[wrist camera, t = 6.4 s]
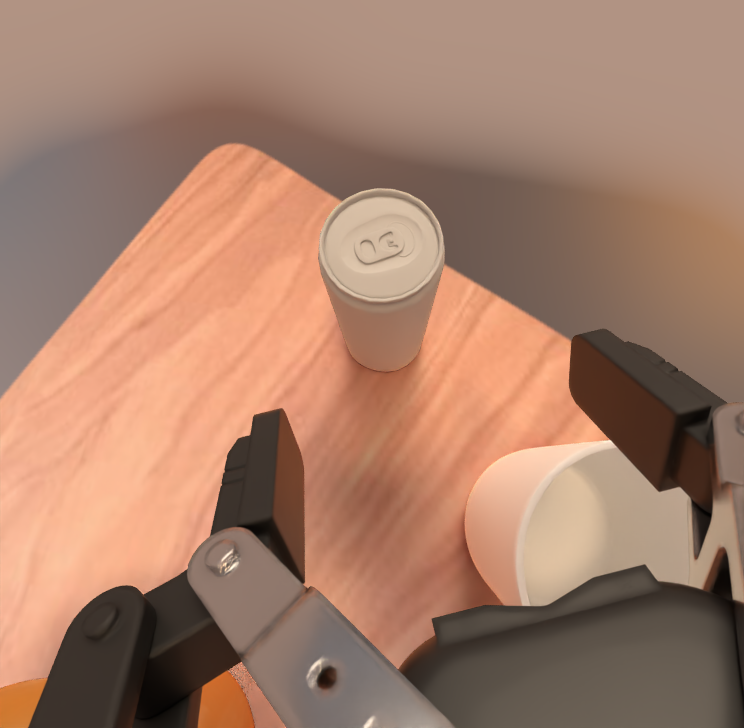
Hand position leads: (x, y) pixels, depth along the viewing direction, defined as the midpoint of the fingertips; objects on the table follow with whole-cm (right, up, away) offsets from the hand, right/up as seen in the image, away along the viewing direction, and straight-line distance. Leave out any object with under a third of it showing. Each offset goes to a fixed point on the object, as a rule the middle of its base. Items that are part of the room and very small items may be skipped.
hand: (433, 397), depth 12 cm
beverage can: (-1, +3, +16) cm, 16 cm away
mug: (+9, -9, +12) cm, 18 cm away
